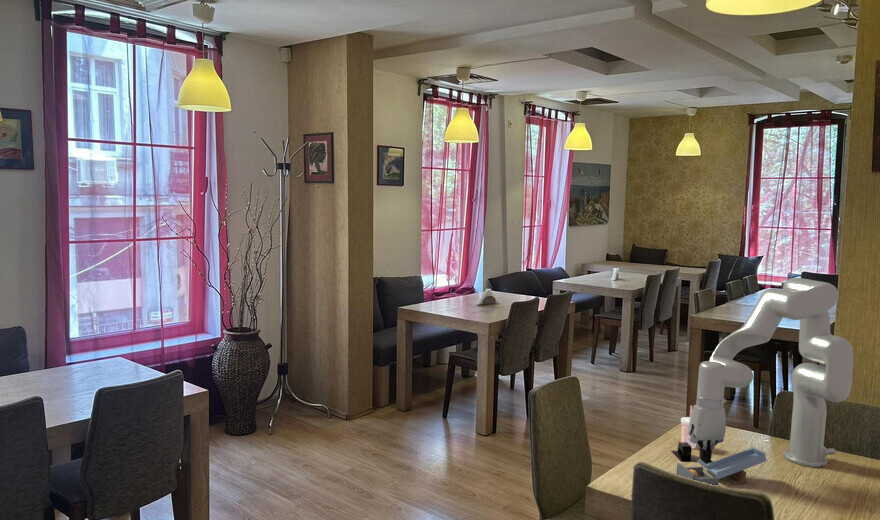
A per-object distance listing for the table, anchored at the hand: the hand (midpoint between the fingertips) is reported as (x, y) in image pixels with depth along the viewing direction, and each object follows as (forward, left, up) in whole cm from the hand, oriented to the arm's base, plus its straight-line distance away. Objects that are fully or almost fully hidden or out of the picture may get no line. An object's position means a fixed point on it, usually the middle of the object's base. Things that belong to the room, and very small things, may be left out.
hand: (705, 460), depth 206 cm
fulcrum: (-6, +6, -3) cm, 10 cm away
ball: (+8, +6, -1) cm, 11 cm away
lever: (-6, +4, +1) cm, 7 cm away
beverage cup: (-7, -21, -4) cm, 22 cm away
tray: (+7, +6, -3) cm, 10 cm away
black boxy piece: (-1, -12, -4) cm, 13 cm away
